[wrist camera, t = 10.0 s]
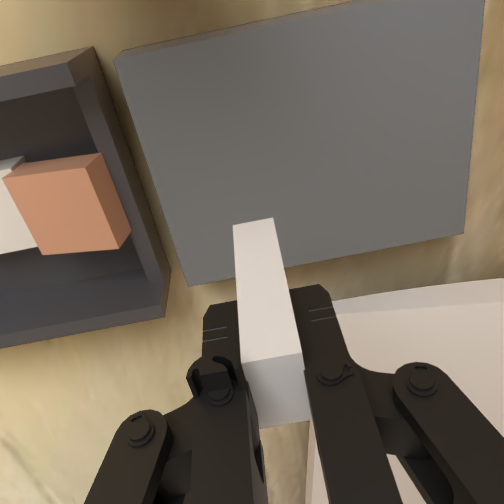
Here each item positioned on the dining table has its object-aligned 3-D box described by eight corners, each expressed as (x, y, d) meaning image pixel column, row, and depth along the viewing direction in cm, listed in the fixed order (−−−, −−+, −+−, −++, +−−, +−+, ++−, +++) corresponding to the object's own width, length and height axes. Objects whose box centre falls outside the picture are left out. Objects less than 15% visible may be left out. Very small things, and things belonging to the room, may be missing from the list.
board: (311, 274, 33) (324, 315, 29) (718, 244, 35) (783, 280, 31) (298, 556, 57) (304, 599, 53) (537, 532, 59) (561, 573, 55)
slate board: (123, 50, 24) (112, 59, 21) (457, -22, 23) (487, -21, 21) (190, 261, 31) (187, 286, 29) (442, 211, 31) (463, 233, 28)
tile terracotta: (22, 163, 25) (1, 178, 24) (101, 152, 24) (85, 167, 22) (59, 237, 28) (42, 255, 26) (131, 230, 27) (118, 248, 25)
